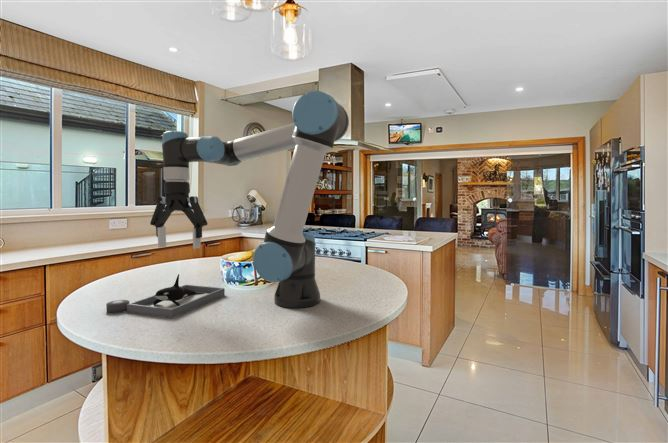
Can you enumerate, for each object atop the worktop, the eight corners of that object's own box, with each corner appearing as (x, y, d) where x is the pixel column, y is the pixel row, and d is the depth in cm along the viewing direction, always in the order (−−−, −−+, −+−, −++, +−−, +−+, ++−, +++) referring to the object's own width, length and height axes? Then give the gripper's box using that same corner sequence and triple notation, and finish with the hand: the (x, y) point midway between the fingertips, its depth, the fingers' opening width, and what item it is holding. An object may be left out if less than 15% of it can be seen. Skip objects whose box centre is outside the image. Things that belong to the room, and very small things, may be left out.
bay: (224, 295, 127) (224, 288, 127) (171, 318, 103) (171, 309, 103) (186, 291, 132) (185, 284, 132) (127, 312, 108) (126, 304, 108)
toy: (168, 308, 105) (173, 273, 107) (139, 305, 108) (144, 271, 109) (208, 304, 126) (211, 275, 127) (183, 302, 128) (187, 274, 130)
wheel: (134, 308, 112) (133, 300, 112) (117, 314, 106) (116, 305, 106) (119, 306, 114) (118, 298, 114) (101, 312, 108) (101, 303, 108)
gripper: (217, 181, 115) (219, 247, 116) (154, 182, 122) (157, 245, 124) (202, 180, 108) (204, 250, 109) (136, 181, 115) (139, 248, 117)
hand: (179, 247), depth 116 cm, fingers open, 13 cm apart
